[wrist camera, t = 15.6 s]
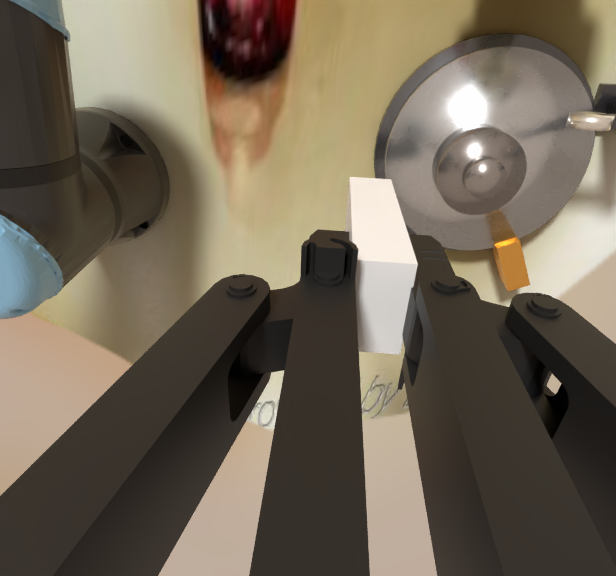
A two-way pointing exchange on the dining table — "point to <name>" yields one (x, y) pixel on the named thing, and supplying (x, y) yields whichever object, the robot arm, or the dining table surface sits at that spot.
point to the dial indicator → (597, 112)
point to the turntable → (507, 117)
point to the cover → (478, 169)
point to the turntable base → (447, 56)
